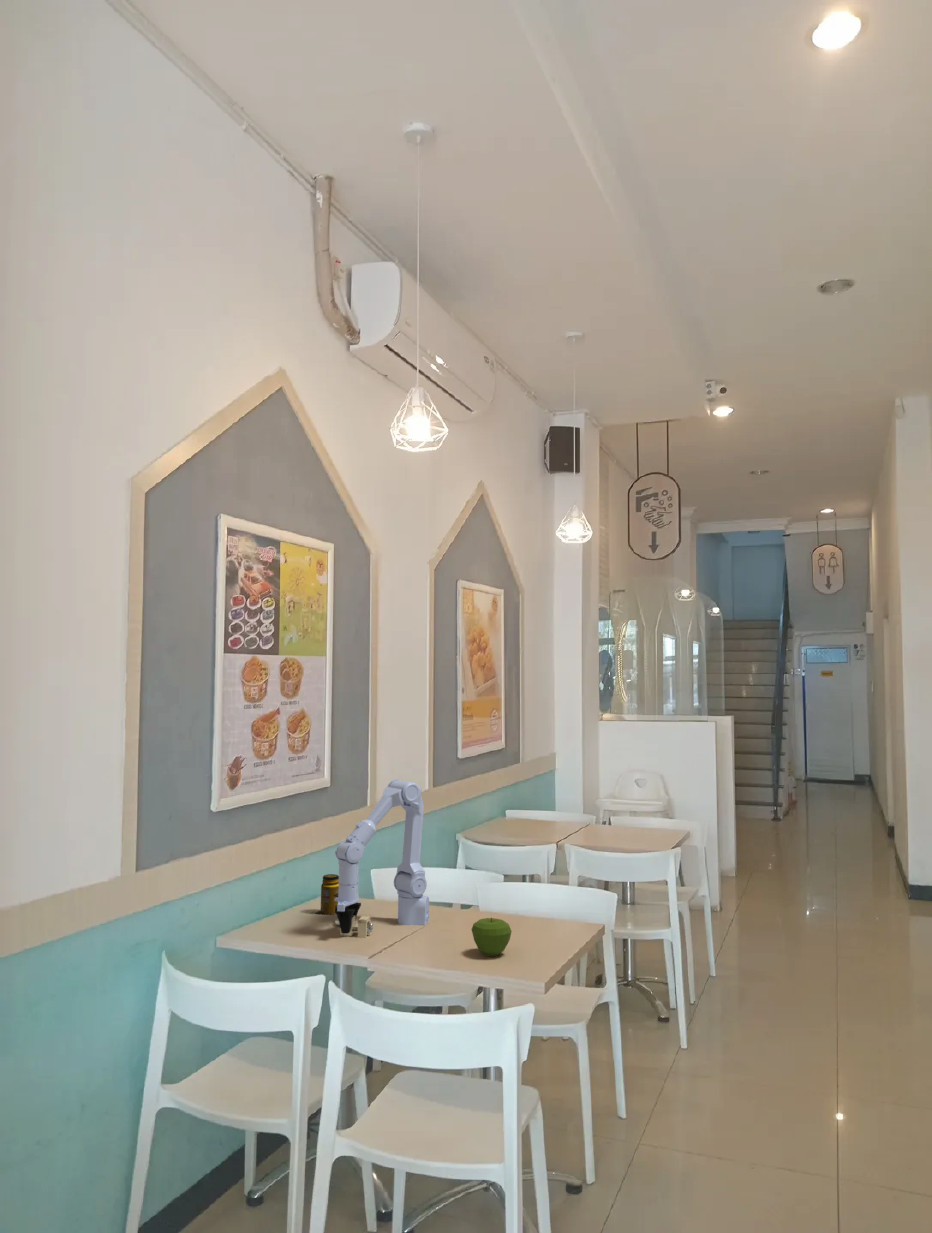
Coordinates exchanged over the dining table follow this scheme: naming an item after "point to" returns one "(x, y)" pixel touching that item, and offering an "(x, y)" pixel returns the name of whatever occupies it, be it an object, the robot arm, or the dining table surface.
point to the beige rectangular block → (355, 928)
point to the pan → (337, 922)
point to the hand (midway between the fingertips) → (347, 930)
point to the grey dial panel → (363, 926)
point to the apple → (491, 935)
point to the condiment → (329, 894)
